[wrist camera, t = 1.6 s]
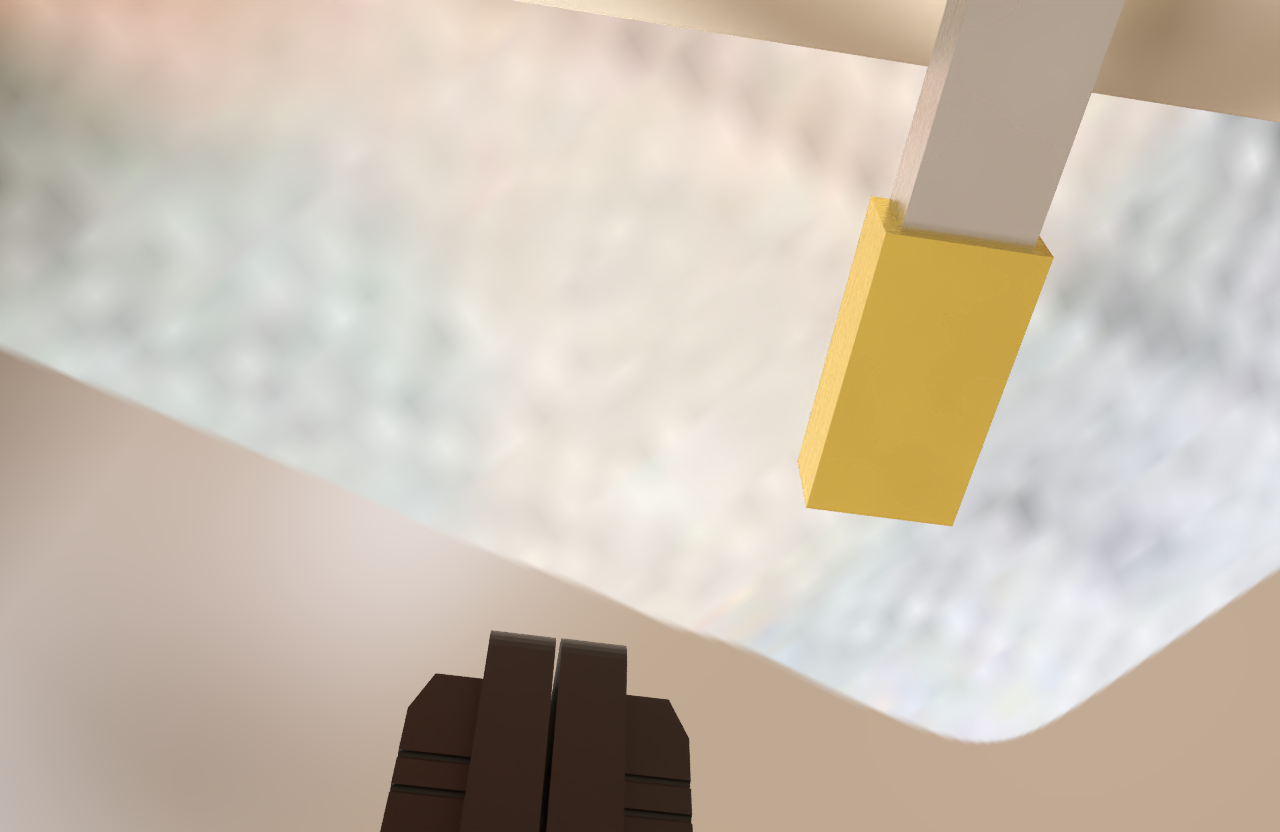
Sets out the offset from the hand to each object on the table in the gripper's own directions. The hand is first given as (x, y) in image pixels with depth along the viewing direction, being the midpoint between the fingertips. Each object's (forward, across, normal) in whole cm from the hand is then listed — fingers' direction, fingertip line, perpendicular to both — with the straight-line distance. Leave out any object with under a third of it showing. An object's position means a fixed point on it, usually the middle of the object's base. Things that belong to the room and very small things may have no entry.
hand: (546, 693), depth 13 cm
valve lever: (+12, -7, -4) cm, 15 cm away
